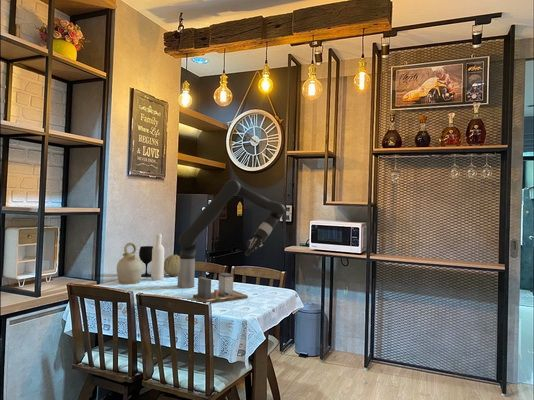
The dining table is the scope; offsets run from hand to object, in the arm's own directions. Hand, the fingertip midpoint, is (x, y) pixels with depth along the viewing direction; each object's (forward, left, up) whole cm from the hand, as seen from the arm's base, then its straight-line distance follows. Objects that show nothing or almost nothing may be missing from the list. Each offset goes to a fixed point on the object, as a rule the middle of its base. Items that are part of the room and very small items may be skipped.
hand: (246, 254), depth 229 cm
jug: (-77, -1, -23) cm, 81 cm away
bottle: (-67, +15, -22) cm, 72 cm away
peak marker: (-8, -23, -20) cm, 32 cm away
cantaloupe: (-64, +31, -23) cm, 75 cm away
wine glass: (-81, +23, -22) cm, 87 cm away
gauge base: (-9, -15, -22) cm, 28 cm away
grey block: (-6, -14, -21) cm, 25 cm away
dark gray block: (-15, -23, -21) cm, 35 cm away
